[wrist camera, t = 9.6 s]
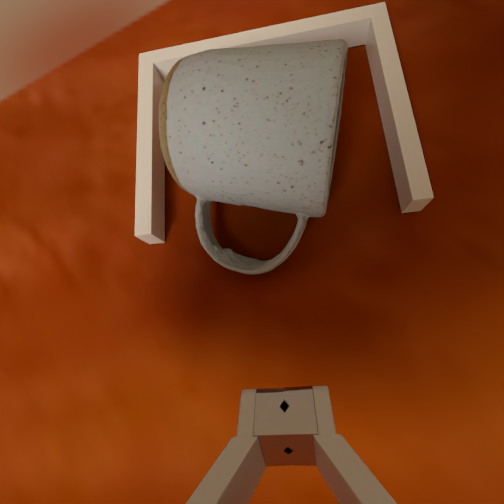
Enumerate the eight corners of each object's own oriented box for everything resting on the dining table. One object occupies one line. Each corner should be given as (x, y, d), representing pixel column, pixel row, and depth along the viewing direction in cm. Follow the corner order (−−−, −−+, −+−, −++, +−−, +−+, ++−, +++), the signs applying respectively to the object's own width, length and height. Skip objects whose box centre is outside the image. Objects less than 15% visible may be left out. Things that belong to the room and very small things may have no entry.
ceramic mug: (215, 114, 21) (166, -1, 13) (339, 119, 19) (361, -9, 12) (182, 267, 19) (103, 229, 11) (319, 286, 17) (330, 258, 10)
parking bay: (377, 29, 20) (385, 1, 19) (420, 210, 17) (434, 197, 15) (151, 75, 22) (139, 53, 21) (149, 244, 19) (134, 235, 17)
